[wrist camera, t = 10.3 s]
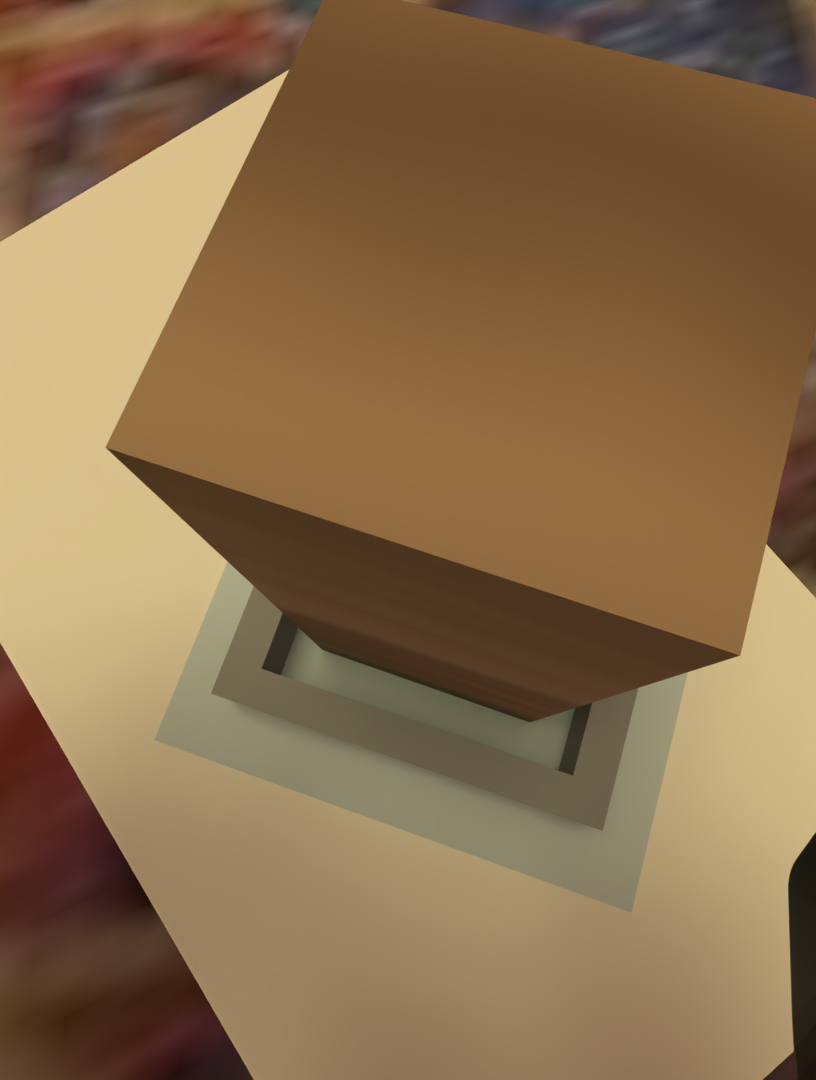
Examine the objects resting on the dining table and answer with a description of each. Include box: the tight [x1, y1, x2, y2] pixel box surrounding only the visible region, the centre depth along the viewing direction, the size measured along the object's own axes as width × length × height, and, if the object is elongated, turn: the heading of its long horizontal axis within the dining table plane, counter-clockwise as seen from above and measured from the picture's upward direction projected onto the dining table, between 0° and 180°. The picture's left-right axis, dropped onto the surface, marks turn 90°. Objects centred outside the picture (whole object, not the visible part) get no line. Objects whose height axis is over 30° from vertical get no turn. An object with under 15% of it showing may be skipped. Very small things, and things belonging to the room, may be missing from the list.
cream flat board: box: [0, 70, 816, 1080], centre depth 17 cm, size 17×27×2 cm, turn 36°
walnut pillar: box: [105, 0, 816, 722], centre depth 12 cm, size 5×5×12 cm
